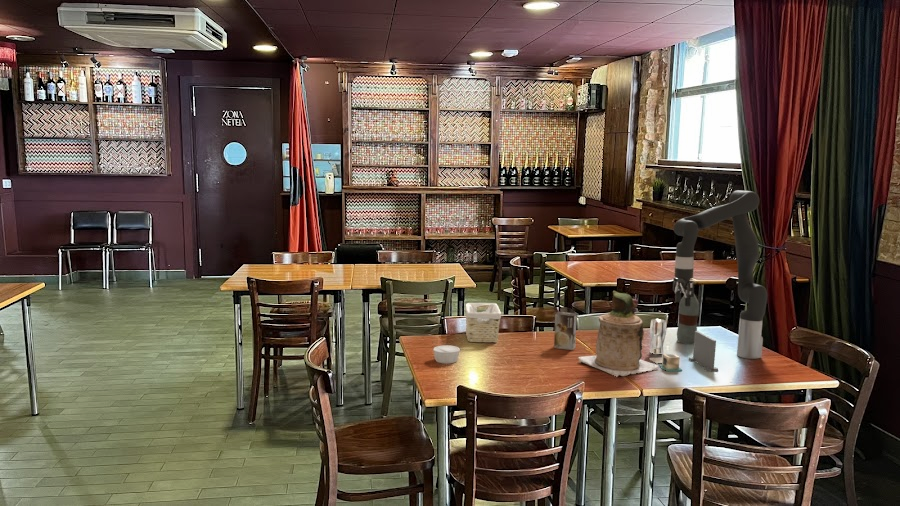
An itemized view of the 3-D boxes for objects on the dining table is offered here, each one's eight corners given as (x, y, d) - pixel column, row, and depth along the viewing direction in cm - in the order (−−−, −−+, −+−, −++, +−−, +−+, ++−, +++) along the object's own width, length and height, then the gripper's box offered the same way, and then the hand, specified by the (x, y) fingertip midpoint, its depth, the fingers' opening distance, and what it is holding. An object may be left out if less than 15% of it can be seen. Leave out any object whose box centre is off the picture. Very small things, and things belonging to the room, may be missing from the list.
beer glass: (665, 355, 301) (667, 322, 299) (649, 354, 302) (651, 321, 300) (663, 351, 308) (665, 319, 306) (647, 350, 309) (650, 318, 307)
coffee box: (575, 347, 312) (577, 313, 309) (573, 350, 306) (574, 316, 303) (556, 344, 315) (558, 311, 313) (553, 348, 309) (554, 313, 307)
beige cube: (673, 365, 285) (674, 353, 284) (678, 368, 280) (679, 356, 279) (661, 365, 284) (662, 353, 283) (666, 369, 279) (667, 357, 279)
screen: (699, 359, 296) (701, 330, 294) (717, 370, 280) (720, 340, 279) (688, 359, 296) (690, 330, 294) (706, 371, 280) (709, 340, 278)
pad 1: (664, 359, 296) (664, 357, 296) (671, 363, 289) (671, 362, 289) (649, 359, 295) (649, 357, 295) (655, 364, 288) (656, 362, 288)
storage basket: (464, 330, 337) (465, 301, 335) (496, 331, 338) (497, 302, 336) (465, 343, 314) (466, 312, 312) (500, 344, 314) (501, 313, 312)
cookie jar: (618, 378, 267) (623, 300, 263) (575, 362, 288) (579, 289, 284) (660, 369, 280) (665, 294, 276) (617, 354, 301) (621, 284, 297)
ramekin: (429, 362, 283) (429, 350, 282) (438, 355, 293) (439, 343, 292) (454, 366, 279) (454, 353, 278) (463, 358, 289) (463, 346, 288)
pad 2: (674, 365, 286) (674, 364, 286) (682, 371, 279) (682, 369, 279) (658, 366, 285) (658, 364, 285) (665, 371, 278) (666, 369, 278)
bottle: (698, 341, 327) (703, 280, 323) (694, 345, 319) (698, 283, 315) (678, 338, 332) (683, 278, 328) (674, 342, 324) (678, 281, 320)
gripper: (700, 269, 279) (699, 307, 282) (684, 263, 293) (682, 300, 296) (683, 269, 278) (682, 308, 281) (668, 264, 292) (666, 300, 295)
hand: (682, 304), depth 288 cm, fingers open, 8 cm apart
